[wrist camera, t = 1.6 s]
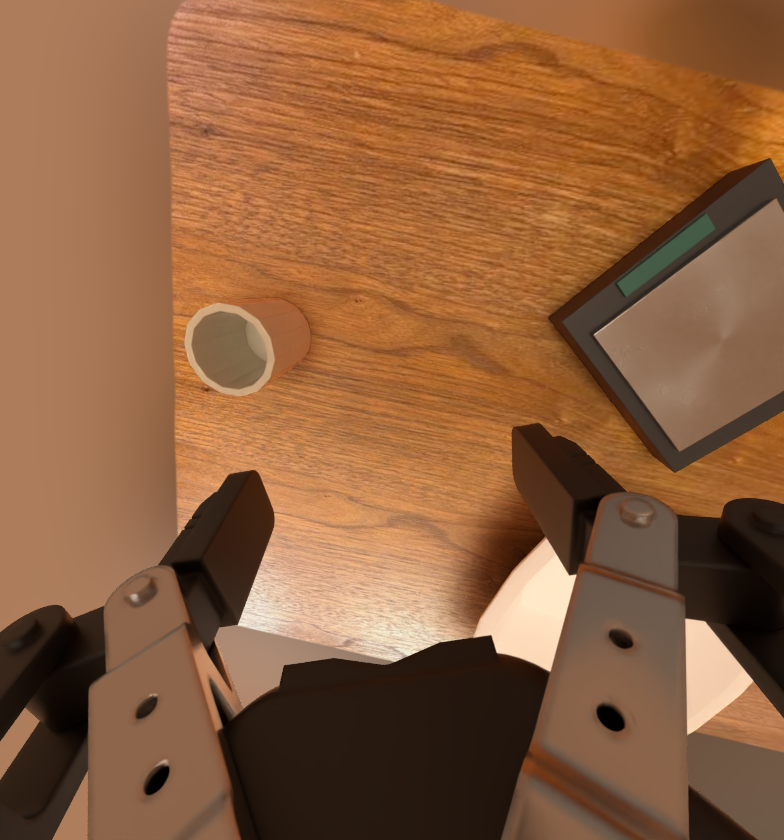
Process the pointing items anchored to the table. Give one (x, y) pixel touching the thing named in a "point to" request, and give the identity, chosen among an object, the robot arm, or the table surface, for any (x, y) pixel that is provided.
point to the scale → (646, 270)
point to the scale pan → (707, 332)
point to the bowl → (543, 620)
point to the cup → (246, 343)
